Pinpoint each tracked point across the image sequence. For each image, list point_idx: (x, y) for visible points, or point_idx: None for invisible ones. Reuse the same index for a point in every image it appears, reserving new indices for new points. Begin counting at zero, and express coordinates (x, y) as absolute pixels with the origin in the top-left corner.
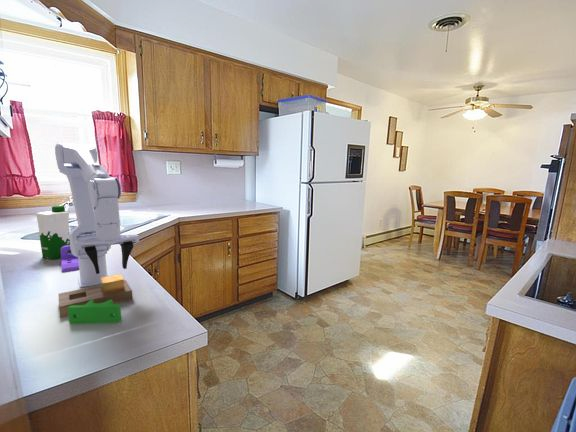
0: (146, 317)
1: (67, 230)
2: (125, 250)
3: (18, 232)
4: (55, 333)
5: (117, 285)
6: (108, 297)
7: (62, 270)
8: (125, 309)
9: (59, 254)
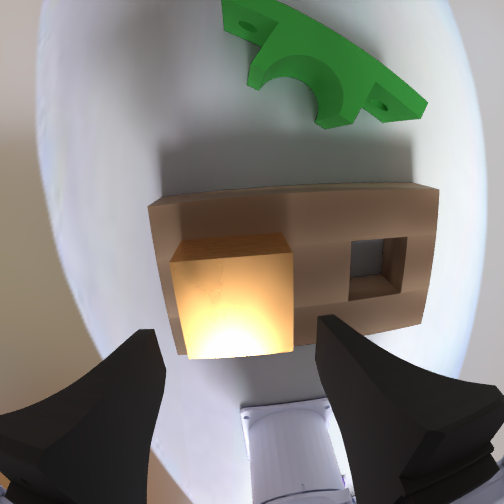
0: (139, 19)
1: None
2: (59, 424)
3: None
4: (417, 78)
5: (212, 247)
6: (262, 194)
7: (343, 480)
8: (198, 118)
9: None
